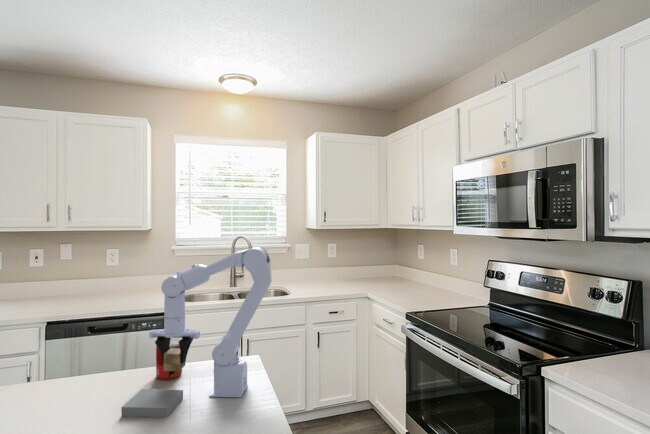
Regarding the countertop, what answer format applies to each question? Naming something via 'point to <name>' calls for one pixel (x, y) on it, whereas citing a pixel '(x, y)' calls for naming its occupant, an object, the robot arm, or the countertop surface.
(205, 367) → the countertop surface
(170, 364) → the light brown rectangular block
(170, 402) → the slate base
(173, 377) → the canned food
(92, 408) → the countertop surface
